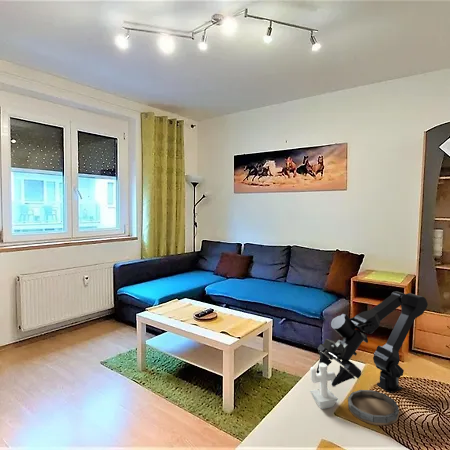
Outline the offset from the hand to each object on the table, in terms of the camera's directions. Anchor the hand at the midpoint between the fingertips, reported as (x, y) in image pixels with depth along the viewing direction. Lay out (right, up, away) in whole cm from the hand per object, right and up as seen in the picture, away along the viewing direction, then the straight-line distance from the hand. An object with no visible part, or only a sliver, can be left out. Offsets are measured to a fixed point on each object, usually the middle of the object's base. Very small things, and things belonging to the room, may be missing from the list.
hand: (324, 379), depth 119 cm
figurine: (0, -10, 0) cm, 10 cm away
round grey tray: (+16, -9, -4) cm, 19 cm away
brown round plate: (+16, -9, -4) cm, 19 cm away
